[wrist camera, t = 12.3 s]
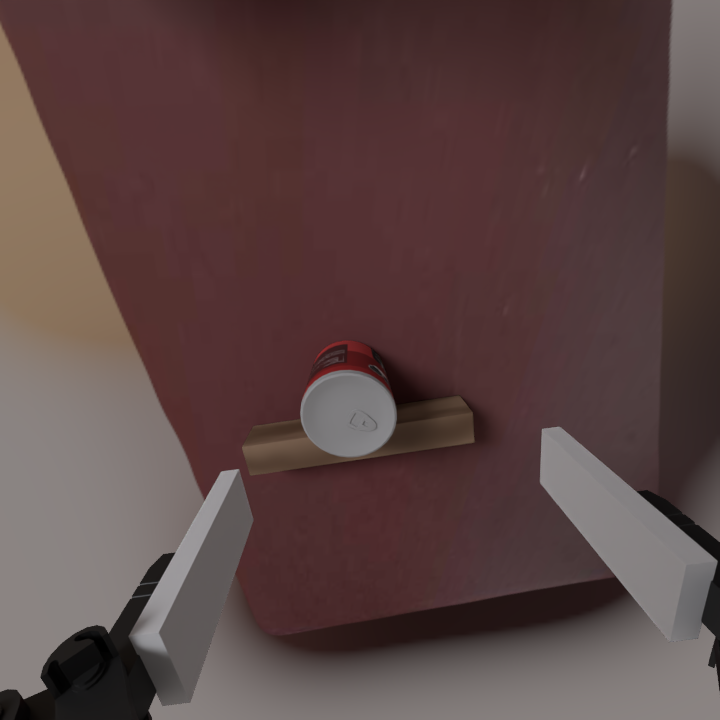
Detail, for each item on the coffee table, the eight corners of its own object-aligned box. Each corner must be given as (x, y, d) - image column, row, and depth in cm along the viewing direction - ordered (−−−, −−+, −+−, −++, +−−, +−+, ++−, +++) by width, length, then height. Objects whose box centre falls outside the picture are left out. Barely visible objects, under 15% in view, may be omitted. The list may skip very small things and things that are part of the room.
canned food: (377, 408, 40) (388, 464, 29) (308, 398, 39) (293, 451, 29) (390, 344, 38) (407, 380, 27) (317, 332, 37) (305, 365, 26)
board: (253, 426, 40) (242, 447, 36) (459, 395, 40) (472, 412, 35) (260, 452, 41) (250, 475, 37) (461, 422, 41) (474, 442, 36)
